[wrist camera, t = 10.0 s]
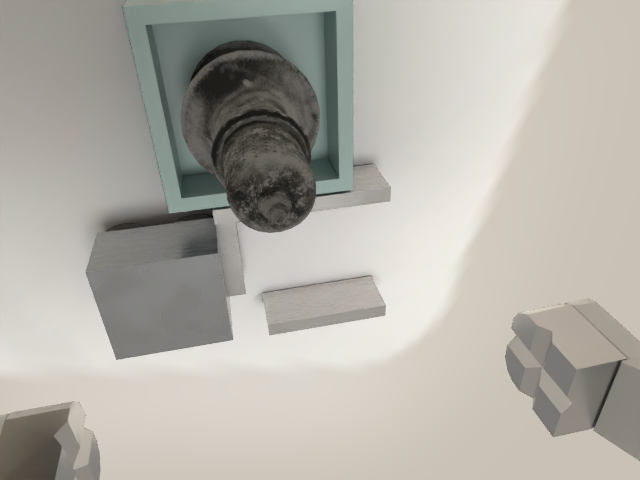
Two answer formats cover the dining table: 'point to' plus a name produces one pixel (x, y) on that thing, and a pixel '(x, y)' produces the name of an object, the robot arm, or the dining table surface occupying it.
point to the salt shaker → (254, 132)
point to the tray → (240, 25)
